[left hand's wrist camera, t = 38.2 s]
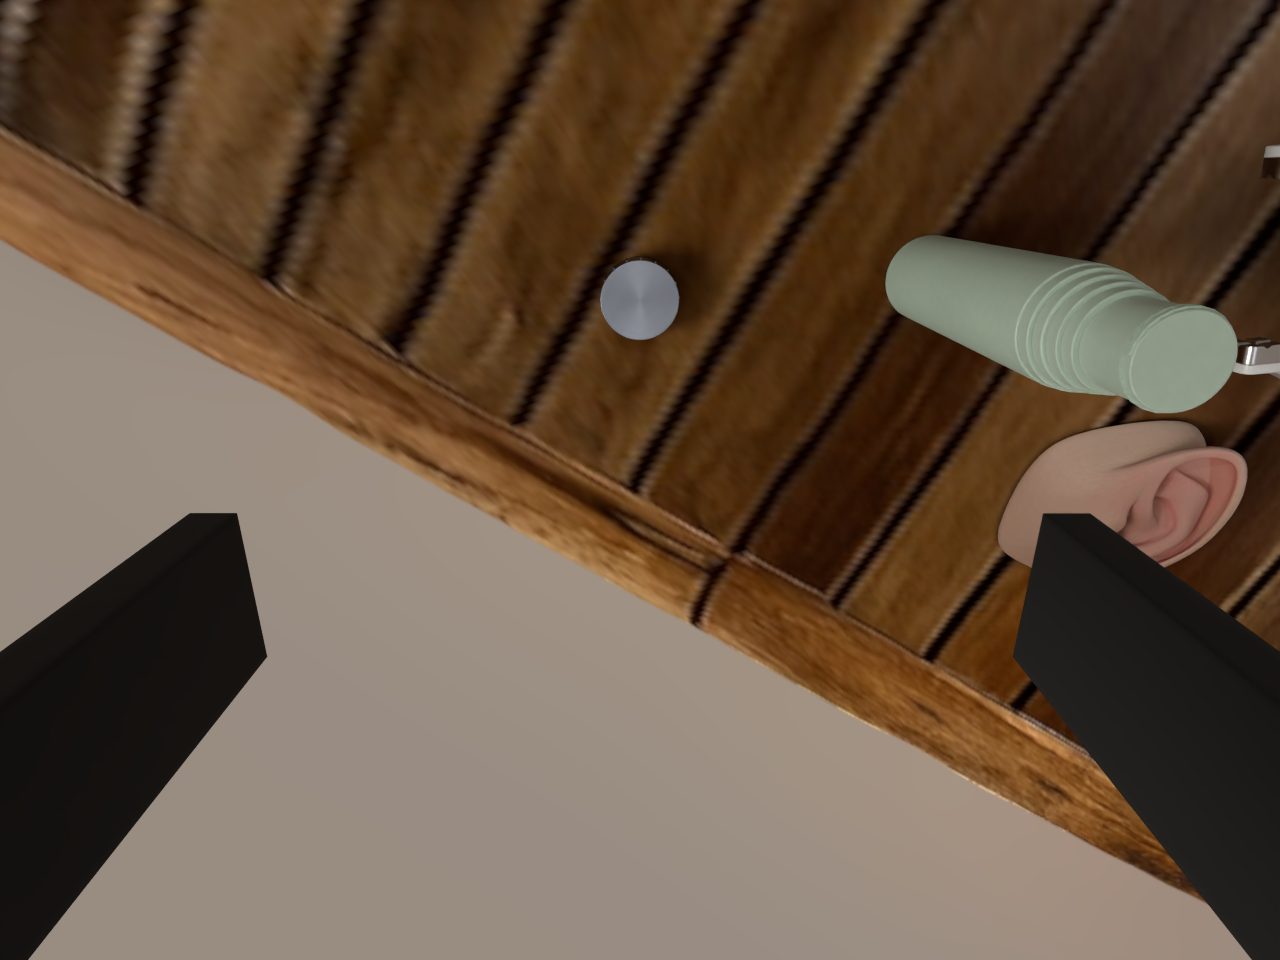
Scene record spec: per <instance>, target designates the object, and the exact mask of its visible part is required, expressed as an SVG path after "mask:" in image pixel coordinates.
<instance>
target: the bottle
mask: <svg viewBox="0 0 1280 960" xmlns="http://www.w3.org/2000/svg"><path fill="white" fill-rule="evenodd" d="M886 292H887V296H888V298H889V301H890V302H891V304H892V305H893V307H894V308H895V309H896V310H897V311H898V312H899V313H901V314H902V315H904V316H906V317H908V318H910V319H912V320H914V321H916V322H918V323H920V324H922V325H924V326H926V327H928V328H930V329H932V330H934V331H936V332H938V333H940V334H942V335H944V336H946V337H948V338H950V339H952V340H954V341H956V342H958V343H960V344H962V345H964V346H966V347H968V348H970V349H972V350H974V351H976V352H978V353H980V354H982V355H984V356H986V357H988V358H990V359H992V360H994V361H996V362H998V363H1000V364H1002V365H1004V366H1006V367H1008V368H1010V369H1012V370H1014V371H1016V372H1018V373H1020V374H1022V375H1024V376H1026V377H1028V378H1030V379H1032V380H1034V381H1036V382H1038V383H1040V384H1042V385H1045V386H1047V387H1050V388H1055V389H1058V390H1061V391H1066V392H1079V393H1090V394H1103V395H1112V396H1114V395H1119V396H1122V397H1124V398H1126V399H1128V400H1130V402H1132V403H1134V404H1135V405H1137V406H1138V407H1140V408H1141V409H1144V410H1147V411H1151V412H1154V413H1177V412H1182V411H1186V410H1190V409H1192V408H1195V407H1197V406H1199V405H1201V404H1203V403H1204V402H1206V401H1207V400H1209V399H1210V398H1211V397H1213V396H1214V395H1215V394H1216V393H1217V392H1218V391H1219V390H1220V389H1221V388H1222V387H1223V385H1224V384H1225V383H1226V381H1227V380H1228V378H1229V377H1230V375H1231V373H1232V371H1233V369H1234V366H1235V363H1236V359H1237V352H1238V345H1237V338H1236V335H1235V332H1234V330H1233V327H1232V326H1231V324H1230V323H1229V322H1228V320H1227V319H1226V317H1225V316H1223V315H1222V314H1220V313H1219V312H1218V311H1216V310H1215V309H1211V308H1208V307H1205V306H1201V305H1196V304H1177V303H1173V302H1170V301H1169V300H1168V299H1166V298H1165V297H1164V296H1162V295H1161V294H1159V293H1157V292H1156V291H1155V290H1154V289H1152V288H1150V287H1149V286H1147V285H1145V284H1144V283H1143V282H1141V281H1139V280H1138V279H1136V278H1135V277H1134V276H1132V275H1131V274H1129V273H1127V272H1125V271H1122V270H1120V269H1117V268H1115V267H1112V266H1109V265H1106V264H1101V263H1095V262H1090V261H1084V260H1078V259H1072V258H1066V257H1061V256H1055V255H1049V254H1043V253H1037V252H1032V251H1026V250H1020V249H1014V248H1008V247H1003V246H997V245H991V244H985V243H979V242H974V241H968V240H962V239H956V238H950V237H944V236H939V235H927V236H922V237H919V238H916V239H914V240H912V241H910V242H909V243H907V244H906V245H905V246H903V247H902V248H901V249H900V250H899V251H898V252H897V254H896V255H895V256H894V258H893V259H892V261H891V263H890V265H889V267H888V271H887V275H886Z"/></svg>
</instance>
